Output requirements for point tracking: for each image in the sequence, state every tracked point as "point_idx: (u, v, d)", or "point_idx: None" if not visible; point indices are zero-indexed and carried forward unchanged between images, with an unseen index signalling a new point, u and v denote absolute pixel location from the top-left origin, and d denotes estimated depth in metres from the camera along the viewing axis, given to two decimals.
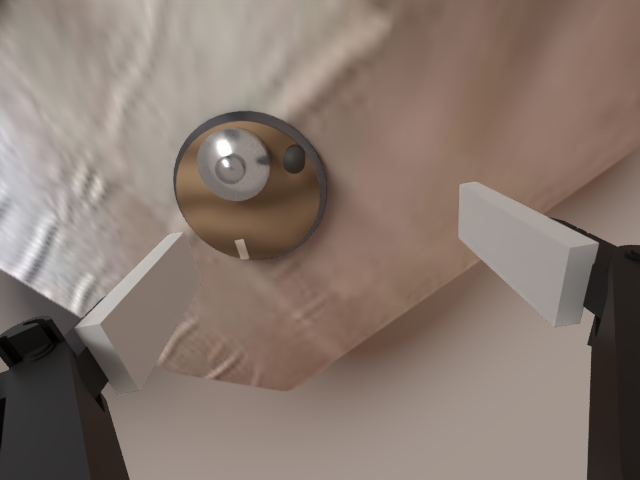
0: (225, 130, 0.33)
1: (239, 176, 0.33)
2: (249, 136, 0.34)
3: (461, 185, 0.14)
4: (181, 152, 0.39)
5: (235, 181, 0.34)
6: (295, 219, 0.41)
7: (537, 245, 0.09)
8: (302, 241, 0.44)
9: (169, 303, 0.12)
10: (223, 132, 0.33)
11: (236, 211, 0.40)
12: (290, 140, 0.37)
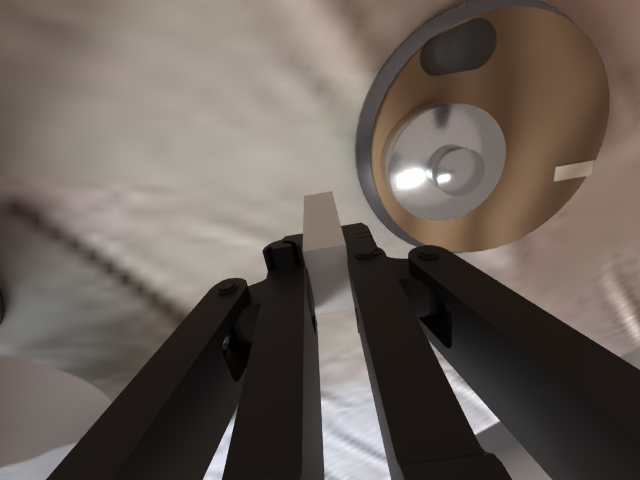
0: (391, 171, 0.21)
1: (474, 157, 0.19)
2: (405, 133, 0.20)
3: (318, 194, 0.16)
4: (400, 236, 0.29)
5: (481, 165, 0.19)
6: (553, 64, 0.22)
7: None
8: None
9: None
10: (393, 174, 0.21)
11: (506, 171, 0.25)
12: (412, 64, 0.21)
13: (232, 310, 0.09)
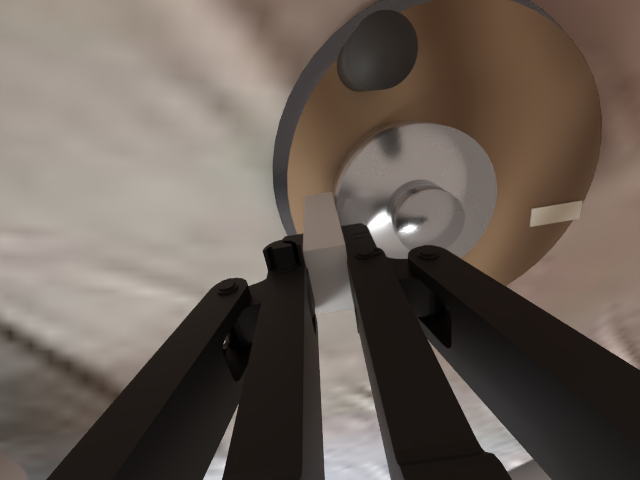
0: (338, 215, 0.15)
1: (449, 201, 0.13)
2: (354, 165, 0.14)
3: (318, 195, 0.16)
4: None
5: (459, 212, 0.13)
6: (523, 75, 0.16)
7: None
8: None
9: None
10: (341, 220, 0.16)
11: None
12: (327, 76, 0.15)
13: (232, 310, 0.09)
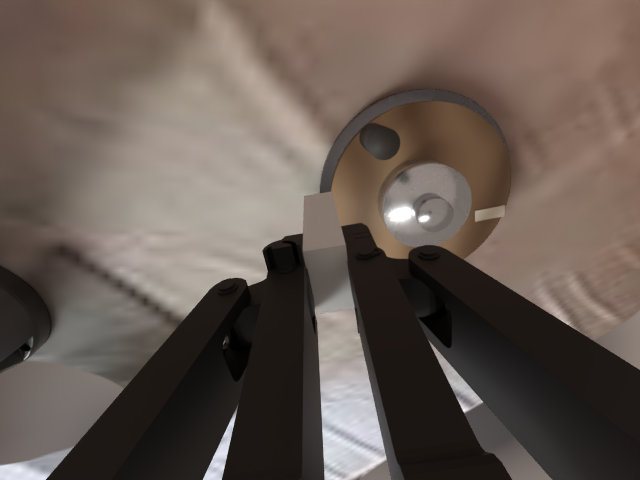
0: (385, 213, 0.28)
1: (445, 204, 0.26)
2: (394, 186, 0.27)
3: (318, 194, 0.16)
4: None
5: (450, 210, 0.26)
6: (461, 138, 0.29)
7: None
8: (495, 127, 0.30)
9: None
10: (387, 215, 0.29)
11: None
12: (354, 143, 0.29)
13: (232, 310, 0.09)
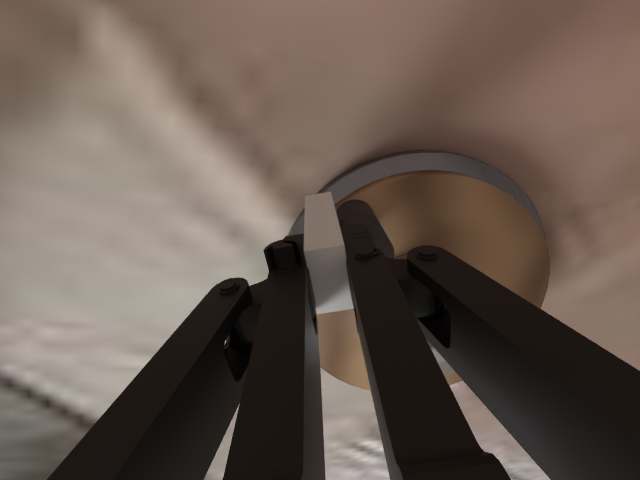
0: None
1: None
2: None
3: (317, 195, 0.16)
4: None
5: None
6: (485, 229, 0.20)
7: None
8: (530, 206, 0.21)
9: None
10: None
11: None
12: None
13: (233, 310, 0.09)
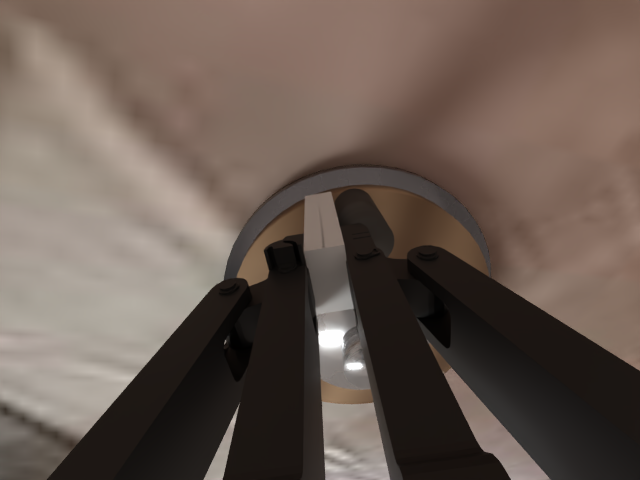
0: None
1: None
2: None
3: (317, 195, 0.16)
4: None
5: None
6: None
7: None
8: (470, 220, 0.21)
9: None
10: None
11: None
12: None
13: (233, 310, 0.09)
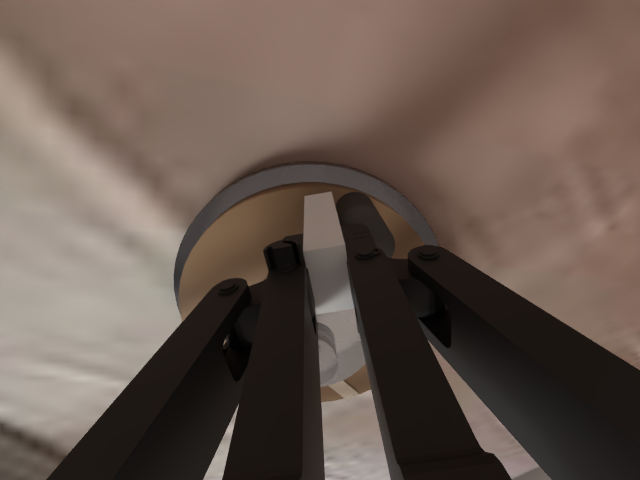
0: None
1: (332, 366, 0.17)
2: None
3: (318, 194, 0.16)
4: None
5: (329, 376, 0.17)
6: None
7: None
8: (419, 217, 0.21)
9: None
10: None
11: None
12: (333, 192, 0.18)
13: (232, 310, 0.09)
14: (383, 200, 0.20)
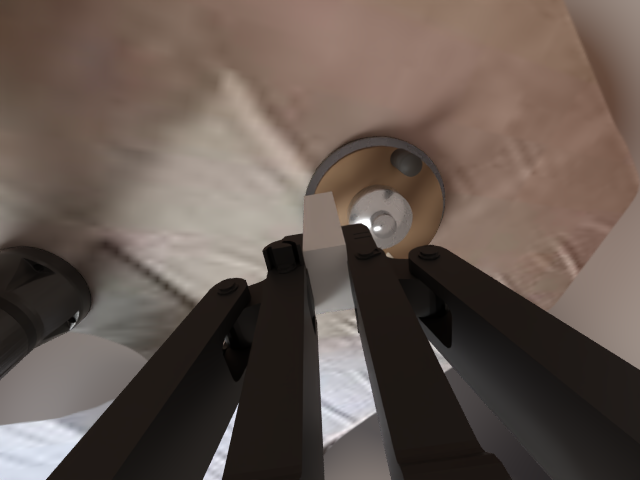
0: (363, 198, 0.38)
1: (394, 227, 0.38)
2: (383, 191, 0.38)
3: (318, 194, 0.16)
4: None
5: (393, 232, 0.38)
6: (425, 211, 0.42)
7: None
8: (432, 164, 0.42)
9: None
10: (362, 200, 0.38)
11: None
12: (390, 149, 0.39)
13: (232, 310, 0.09)
14: None
